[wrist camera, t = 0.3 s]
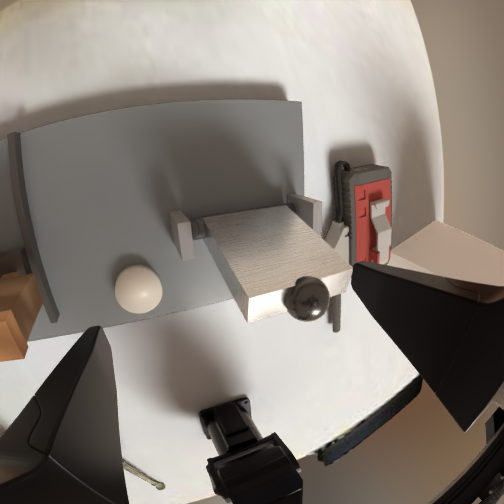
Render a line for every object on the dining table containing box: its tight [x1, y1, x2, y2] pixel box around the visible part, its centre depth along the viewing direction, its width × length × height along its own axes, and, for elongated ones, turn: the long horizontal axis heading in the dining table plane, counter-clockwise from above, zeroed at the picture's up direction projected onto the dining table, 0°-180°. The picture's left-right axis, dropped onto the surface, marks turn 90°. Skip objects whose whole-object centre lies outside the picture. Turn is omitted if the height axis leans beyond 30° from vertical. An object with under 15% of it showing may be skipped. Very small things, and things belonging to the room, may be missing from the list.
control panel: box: [0, 99, 322, 342], centre depth 18 cm, size 16×29×6 cm, turn 93°
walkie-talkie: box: [324, 161, 392, 332], centre depth 29 cm, size 9×4×20 cm
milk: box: [389, 220, 504, 286], centre depth 27 cm, size 12×12×26 cm
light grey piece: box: [188, 203, 353, 323], centre depth 18 cm, size 2×8×11 cm, turn 93°
